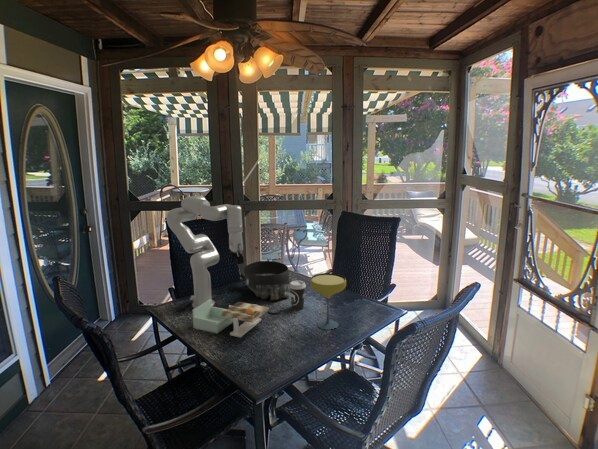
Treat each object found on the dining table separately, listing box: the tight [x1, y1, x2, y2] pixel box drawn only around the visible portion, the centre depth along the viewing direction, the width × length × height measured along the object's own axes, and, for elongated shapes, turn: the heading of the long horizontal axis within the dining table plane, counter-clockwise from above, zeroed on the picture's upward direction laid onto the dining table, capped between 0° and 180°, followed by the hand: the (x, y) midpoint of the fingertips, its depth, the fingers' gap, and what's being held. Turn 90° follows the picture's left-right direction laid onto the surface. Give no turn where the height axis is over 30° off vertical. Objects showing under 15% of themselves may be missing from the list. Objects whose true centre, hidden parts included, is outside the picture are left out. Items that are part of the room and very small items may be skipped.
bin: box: [191, 299, 233, 334], centre depth 195 cm, size 15×15×10 cm
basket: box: [243, 260, 290, 302], centre depth 238 cm, size 28×35×16 cm
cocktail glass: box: [309, 272, 347, 331], centre depth 192 cm, size 18×18×25 cm
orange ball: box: [246, 308, 254, 315], centre depth 185 cm, size 4×4×4 cm
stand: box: [229, 303, 262, 338], centre depth 192 cm, size 6×20×9 cm, turn 155°
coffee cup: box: [288, 280, 307, 311], centre depth 214 cm, size 10×10×15 cm
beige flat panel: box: [221, 301, 270, 323], centre depth 191 cm, size 18×16×3 cm
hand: (237, 261), depth 199 cm, fingers open, 9 cm apart
